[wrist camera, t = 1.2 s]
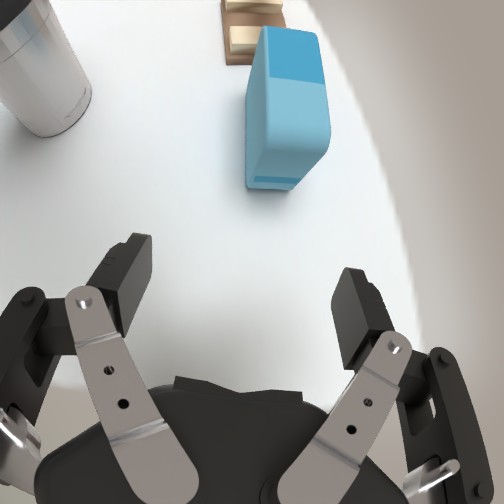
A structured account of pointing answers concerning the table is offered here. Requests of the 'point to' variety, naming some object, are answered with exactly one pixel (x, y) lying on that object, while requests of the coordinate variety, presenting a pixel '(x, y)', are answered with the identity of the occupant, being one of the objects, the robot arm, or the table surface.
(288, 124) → the data package
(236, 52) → the display stand
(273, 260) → the table surface
